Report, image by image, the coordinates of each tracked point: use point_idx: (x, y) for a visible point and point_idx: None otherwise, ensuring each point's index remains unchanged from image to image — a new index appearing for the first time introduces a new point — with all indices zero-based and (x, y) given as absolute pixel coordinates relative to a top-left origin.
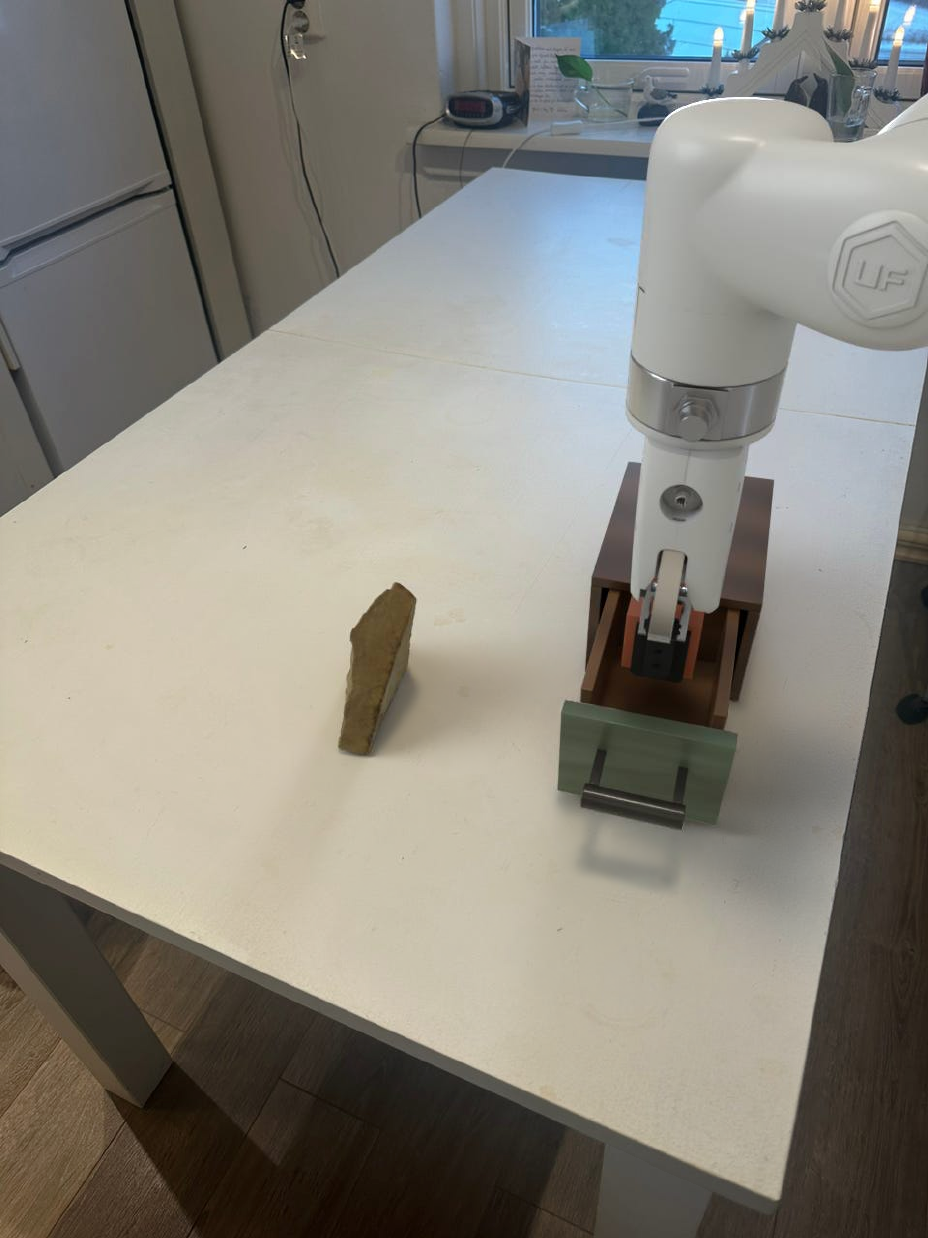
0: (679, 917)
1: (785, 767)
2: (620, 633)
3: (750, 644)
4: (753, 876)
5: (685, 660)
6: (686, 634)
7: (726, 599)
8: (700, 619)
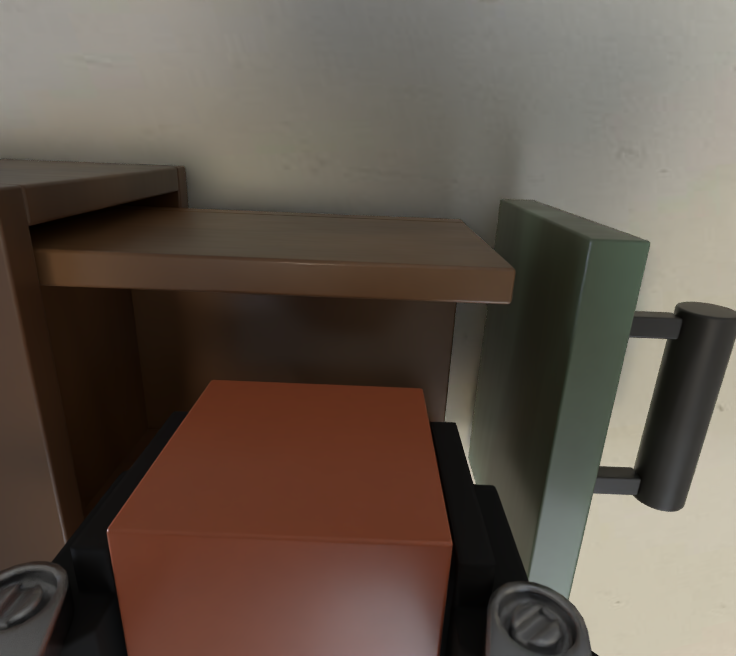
0: (696, 243)
1: (339, 59)
2: (132, 443)
3: (102, 181)
4: (608, 120)
5: (470, 476)
6: (486, 579)
7: (21, 312)
8: (394, 550)
